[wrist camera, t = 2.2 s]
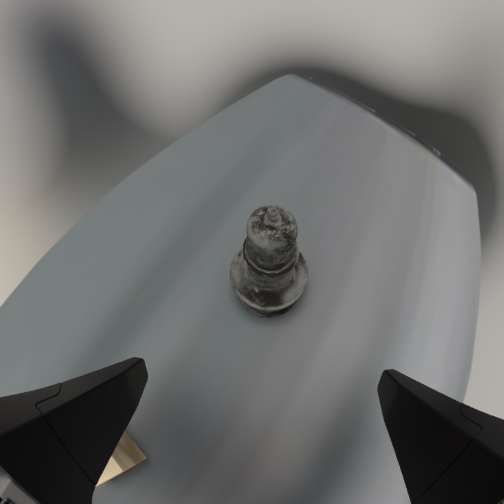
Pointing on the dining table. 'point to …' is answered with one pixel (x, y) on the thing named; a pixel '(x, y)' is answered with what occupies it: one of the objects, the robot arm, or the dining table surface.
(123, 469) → the maple block
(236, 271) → the grey tall rounded piece
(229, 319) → the dining table surface
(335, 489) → the dining table surface
